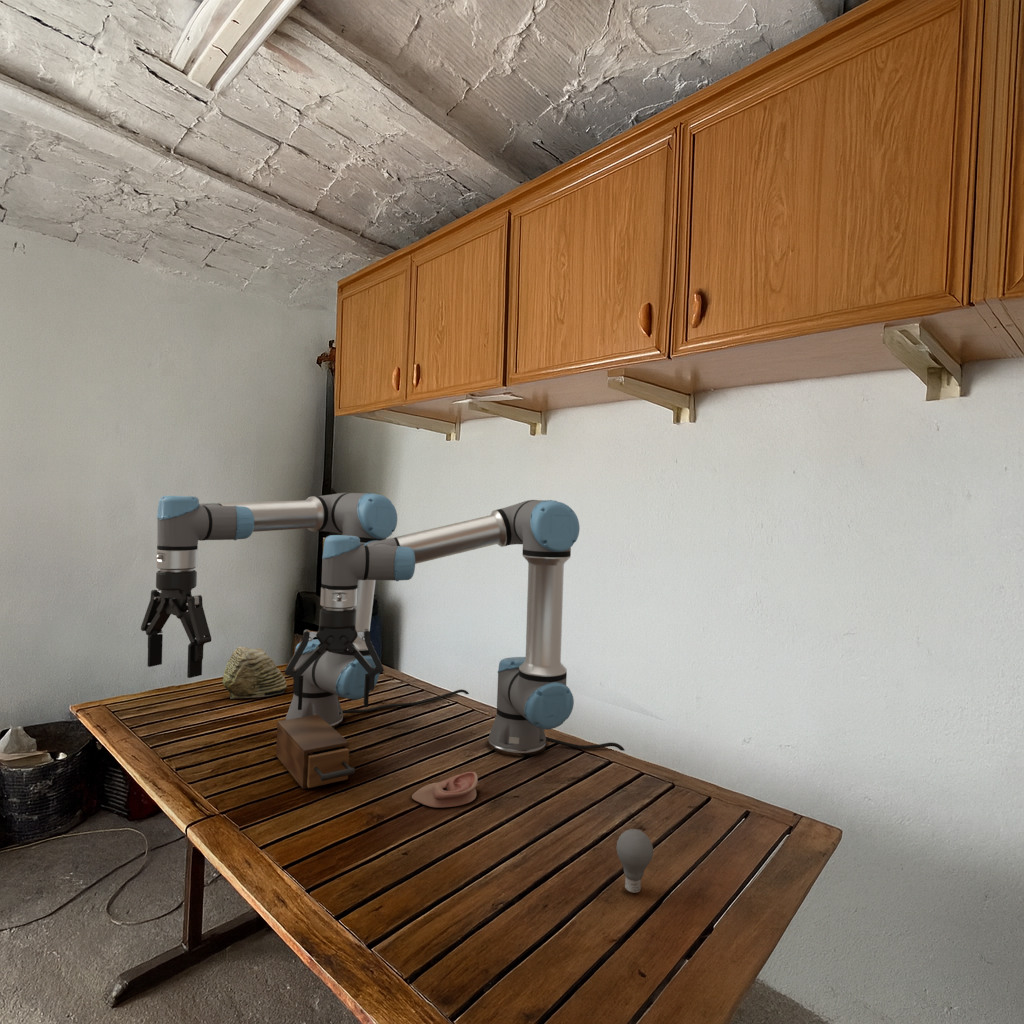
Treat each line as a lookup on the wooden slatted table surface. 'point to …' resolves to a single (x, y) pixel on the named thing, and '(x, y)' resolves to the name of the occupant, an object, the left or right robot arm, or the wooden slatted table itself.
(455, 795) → the anatomical model
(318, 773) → the drawer
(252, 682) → the fossil
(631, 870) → the light bulb
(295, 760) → the cabinet
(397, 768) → the wooden slatted table surface
